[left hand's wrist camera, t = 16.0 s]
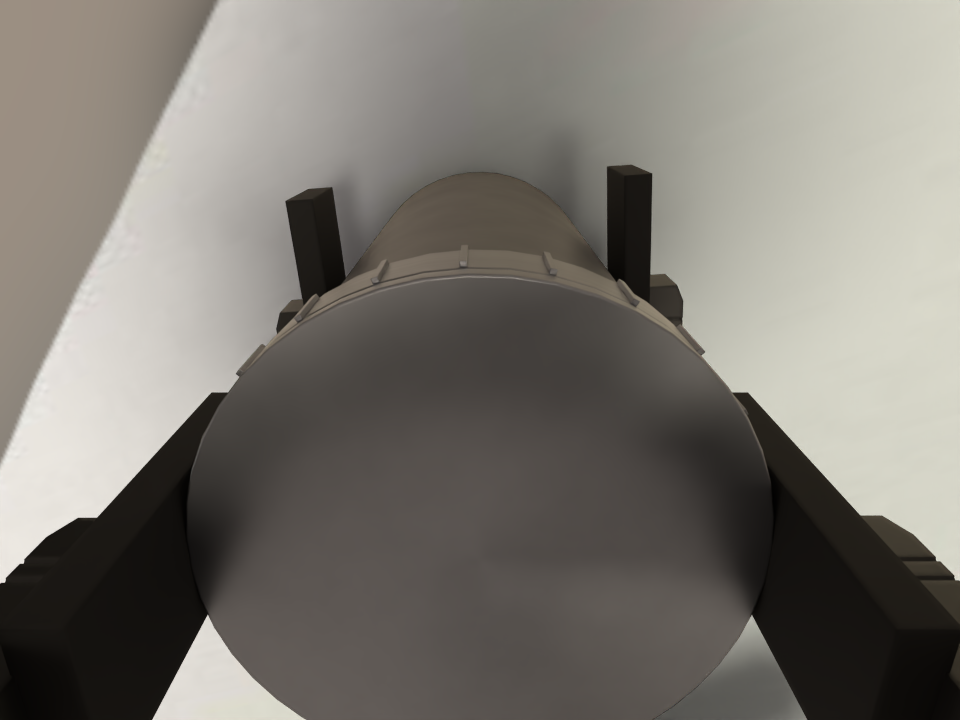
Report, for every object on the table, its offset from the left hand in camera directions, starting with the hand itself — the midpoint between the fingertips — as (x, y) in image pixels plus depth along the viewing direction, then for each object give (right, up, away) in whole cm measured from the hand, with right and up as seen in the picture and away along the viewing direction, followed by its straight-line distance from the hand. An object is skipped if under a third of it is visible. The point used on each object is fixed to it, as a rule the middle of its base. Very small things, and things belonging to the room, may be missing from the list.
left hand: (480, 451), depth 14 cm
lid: (0, -1, -3) cm, 3 cm away
